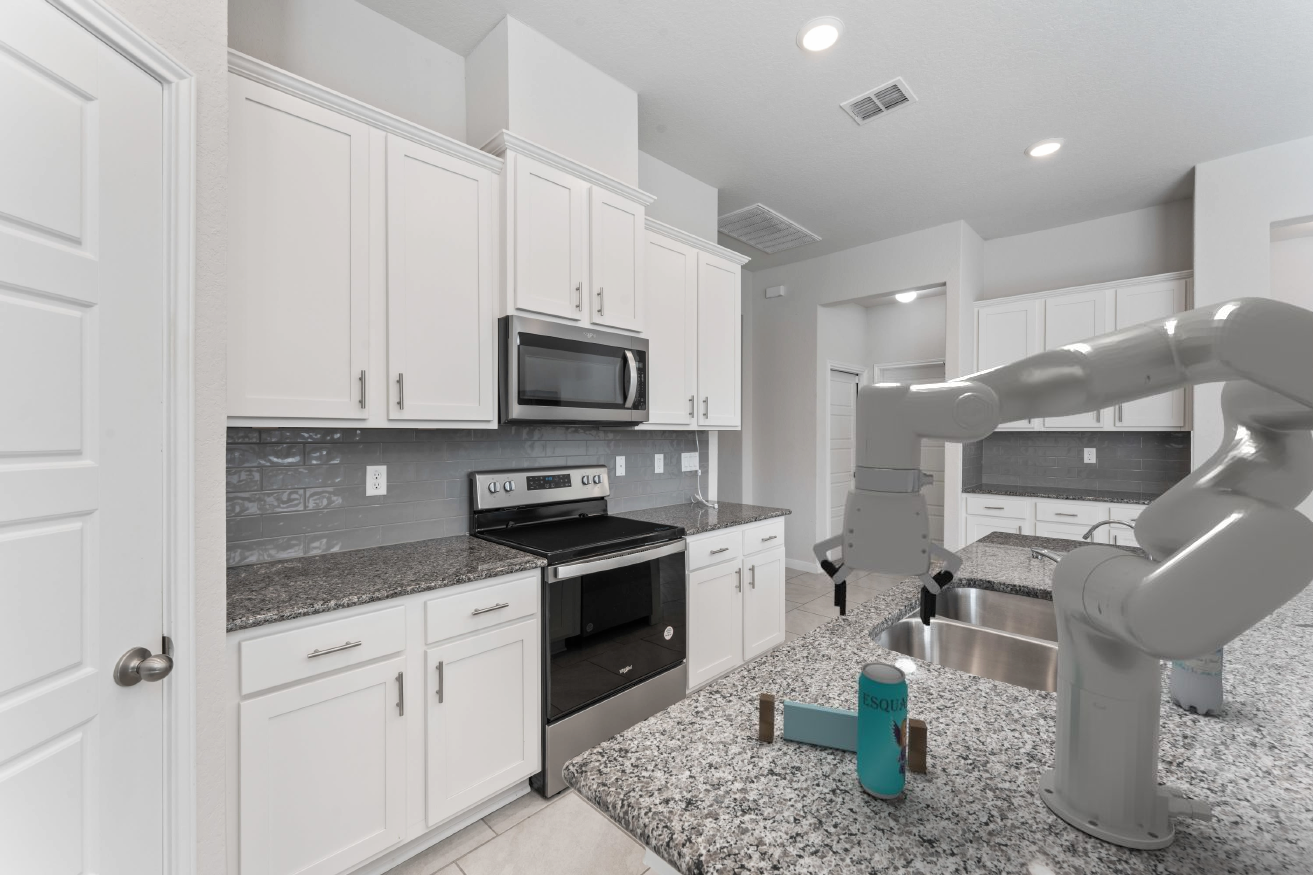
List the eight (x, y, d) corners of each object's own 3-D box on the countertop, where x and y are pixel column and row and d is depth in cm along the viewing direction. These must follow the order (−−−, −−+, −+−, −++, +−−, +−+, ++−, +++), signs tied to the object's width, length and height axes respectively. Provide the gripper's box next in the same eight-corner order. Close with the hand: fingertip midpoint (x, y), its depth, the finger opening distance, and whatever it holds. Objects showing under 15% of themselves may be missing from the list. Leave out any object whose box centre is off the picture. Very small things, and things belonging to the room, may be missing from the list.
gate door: (902, 754, 76) (903, 719, 75) (903, 759, 74) (904, 723, 74) (783, 733, 81) (784, 700, 80) (783, 738, 79) (783, 704, 79)
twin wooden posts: (923, 761, 75) (924, 718, 75) (926, 773, 72) (927, 728, 72) (760, 732, 81) (761, 692, 81) (758, 741, 79) (758, 700, 79)
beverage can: (898, 809, 65) (901, 686, 65) (850, 789, 69) (852, 672, 68) (910, 784, 70) (912, 668, 70) (864, 767, 73) (866, 656, 73)
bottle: (1175, 711, 89) (1180, 589, 88) (1161, 694, 95) (1165, 579, 94) (1232, 722, 85) (1237, 596, 85) (1213, 703, 91) (1218, 584, 91)
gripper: (957, 482, 69) (953, 615, 70) (815, 475, 75) (812, 600, 75) (972, 488, 62) (967, 637, 63) (813, 481, 67) (810, 618, 68)
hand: (882, 617), depth 69 cm, fingers open, 9 cm apart
